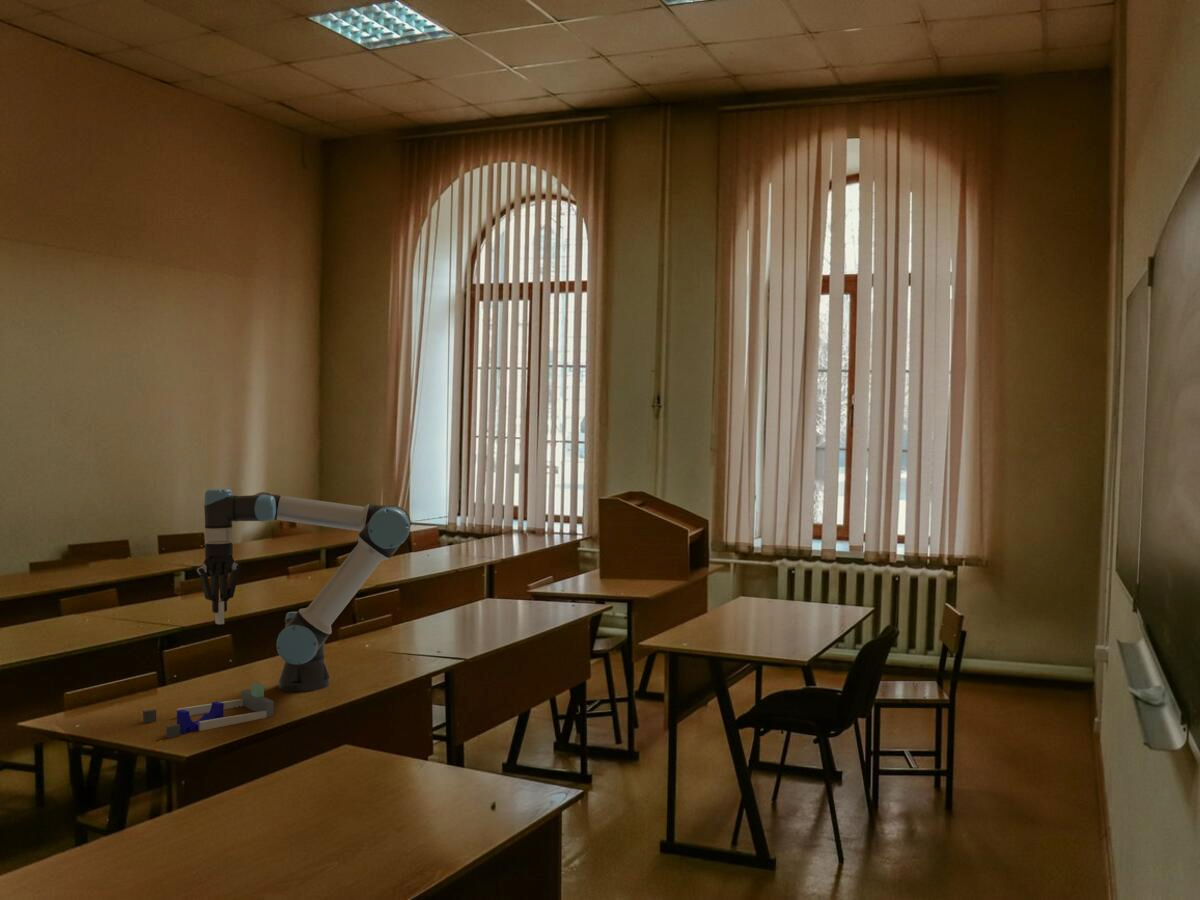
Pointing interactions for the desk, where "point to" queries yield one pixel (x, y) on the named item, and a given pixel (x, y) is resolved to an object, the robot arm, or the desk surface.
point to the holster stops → (171, 730)
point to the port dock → (249, 699)
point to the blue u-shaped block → (191, 726)
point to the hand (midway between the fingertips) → (219, 623)
